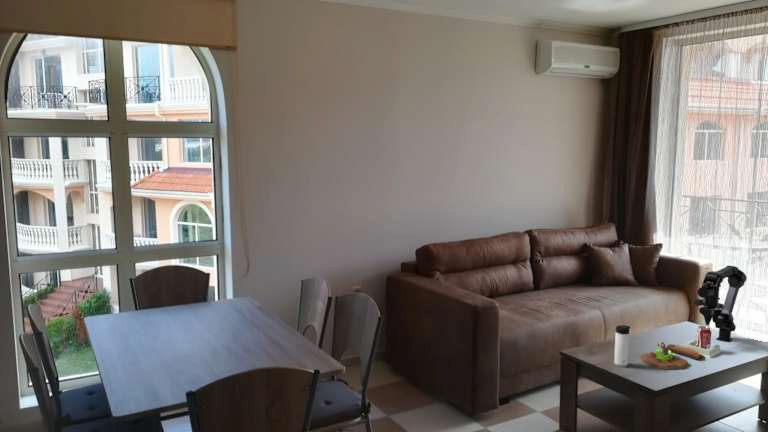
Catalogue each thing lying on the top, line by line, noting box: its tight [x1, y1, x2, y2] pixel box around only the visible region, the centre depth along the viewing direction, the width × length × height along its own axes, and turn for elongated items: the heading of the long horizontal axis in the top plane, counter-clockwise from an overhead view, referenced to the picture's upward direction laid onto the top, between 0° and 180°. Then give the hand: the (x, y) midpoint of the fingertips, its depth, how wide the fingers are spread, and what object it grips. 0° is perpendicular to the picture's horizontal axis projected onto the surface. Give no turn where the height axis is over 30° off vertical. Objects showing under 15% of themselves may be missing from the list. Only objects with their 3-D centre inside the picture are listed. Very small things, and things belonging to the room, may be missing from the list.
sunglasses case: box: [665, 343, 707, 361], centre depth 304 cm, size 18×7×7 cm
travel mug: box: [613, 324, 631, 368], centre depth 288 cm, size 6×7×20 cm
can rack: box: [682, 338, 722, 359], centre depth 308 cm, size 13×14×4 cm
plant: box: [640, 342, 689, 371], centre depth 292 cm, size 20×20×11 cm
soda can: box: [695, 325, 712, 350], centre depth 307 cm, size 7×7×12 cm
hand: (710, 323), depth 316 cm, fingers open, 9 cm apart
